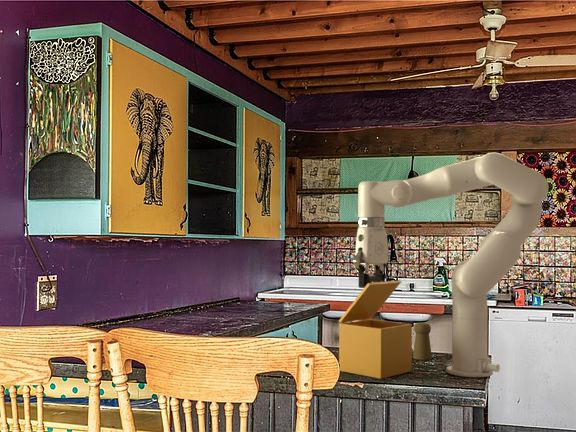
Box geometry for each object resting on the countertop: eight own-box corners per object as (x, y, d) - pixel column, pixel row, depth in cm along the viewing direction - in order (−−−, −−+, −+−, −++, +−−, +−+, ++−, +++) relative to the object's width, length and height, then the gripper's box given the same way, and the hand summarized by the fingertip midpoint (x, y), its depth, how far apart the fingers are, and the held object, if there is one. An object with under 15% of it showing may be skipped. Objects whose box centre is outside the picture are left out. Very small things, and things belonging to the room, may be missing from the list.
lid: (400, 282, 197) (390, 270, 200) (369, 284, 186) (359, 271, 189) (371, 318, 204) (361, 306, 207) (340, 322, 193) (330, 309, 196)
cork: (430, 360, 210) (430, 324, 211) (410, 359, 212) (411, 323, 213) (433, 357, 216) (433, 322, 216) (414, 355, 218) (414, 321, 218)
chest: (411, 371, 194) (412, 324, 194) (380, 378, 183) (381, 329, 183) (370, 363, 204) (370, 319, 204) (338, 370, 193) (339, 323, 194)
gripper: (363, 223, 187) (363, 289, 186) (399, 224, 199) (399, 286, 199) (341, 223, 192) (341, 288, 192) (378, 224, 205) (378, 285, 204)
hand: (371, 286), depth 195 cm, fingers closed on lid, 6 cm apart
